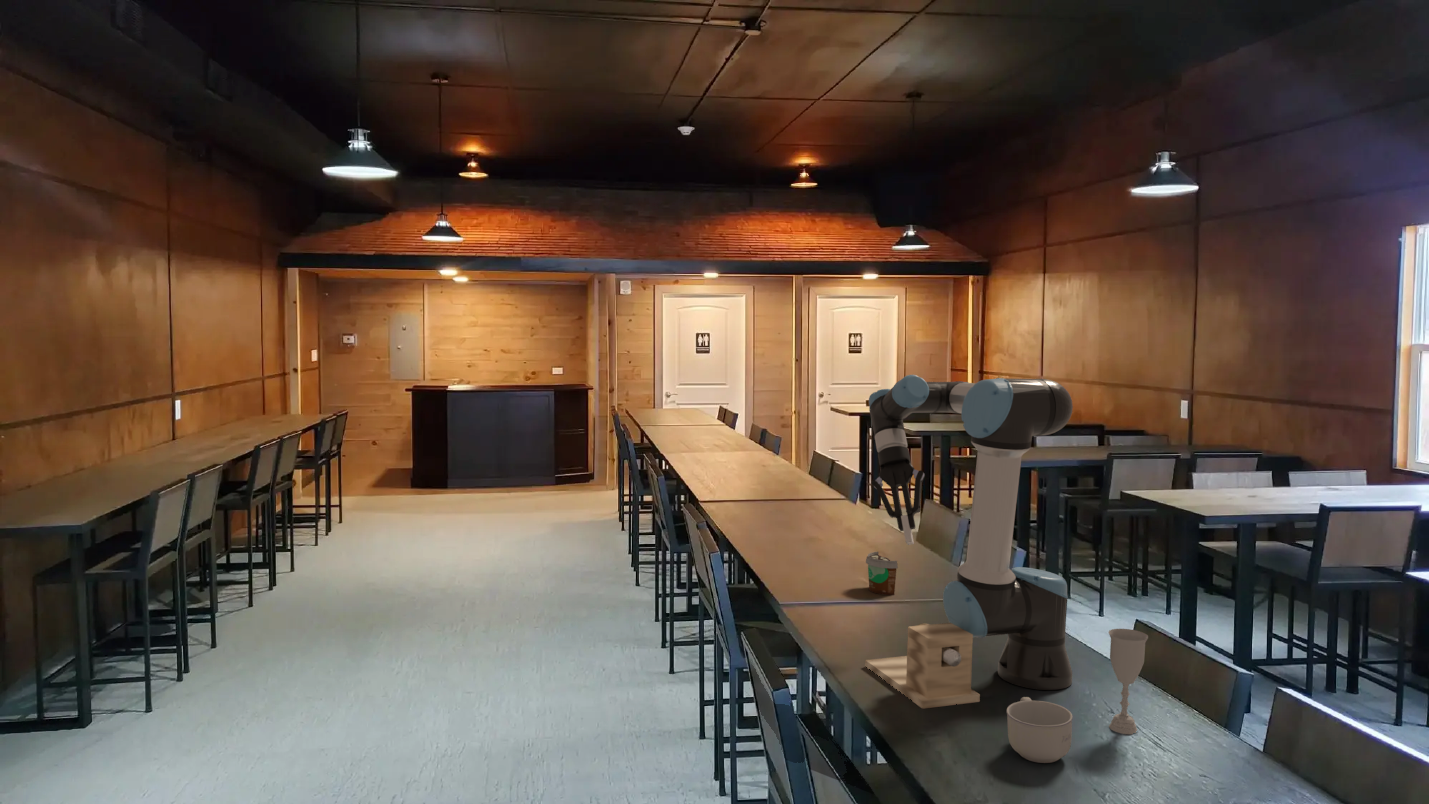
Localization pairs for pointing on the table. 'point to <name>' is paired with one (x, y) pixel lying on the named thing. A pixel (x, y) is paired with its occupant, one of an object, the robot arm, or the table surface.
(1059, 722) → the teacup
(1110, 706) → the table surface
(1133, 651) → the chalice
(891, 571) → the food container
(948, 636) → the bearing stand
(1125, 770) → the table surface
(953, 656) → the shaft
